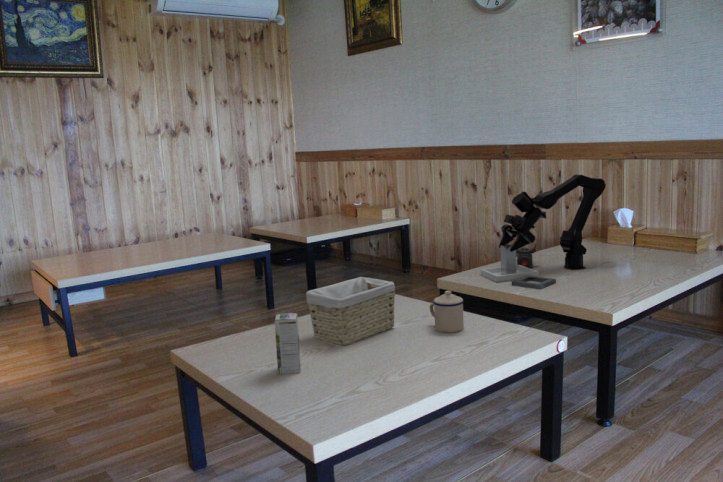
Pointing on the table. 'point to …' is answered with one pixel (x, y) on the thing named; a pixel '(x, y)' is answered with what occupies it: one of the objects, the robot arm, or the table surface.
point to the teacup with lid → (448, 313)
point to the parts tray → (496, 275)
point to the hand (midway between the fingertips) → (504, 249)
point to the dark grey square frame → (524, 283)
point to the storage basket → (351, 309)
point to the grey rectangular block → (508, 260)
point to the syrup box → (287, 343)
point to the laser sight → (525, 256)
